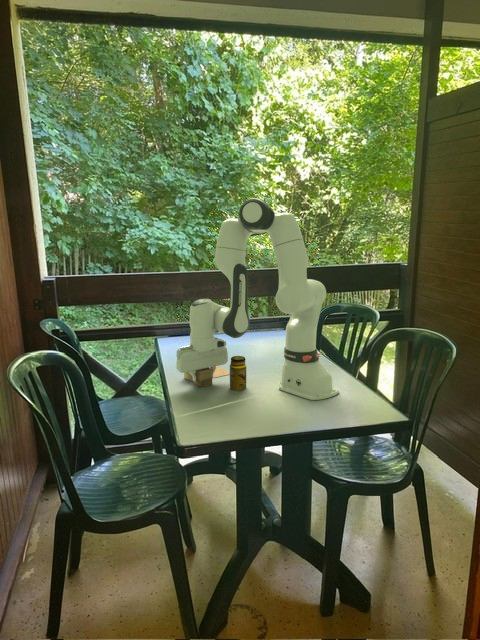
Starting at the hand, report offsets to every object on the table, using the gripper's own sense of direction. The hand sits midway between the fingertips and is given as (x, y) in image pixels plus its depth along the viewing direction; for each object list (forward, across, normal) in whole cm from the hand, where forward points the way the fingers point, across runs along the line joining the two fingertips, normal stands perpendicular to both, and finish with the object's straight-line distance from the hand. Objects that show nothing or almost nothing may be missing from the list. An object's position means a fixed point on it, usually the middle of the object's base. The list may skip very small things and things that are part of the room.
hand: (203, 379), depth 162 cm
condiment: (+3, +8, -10) cm, 13 cm away
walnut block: (+2, 0, 0) cm, 2 cm away
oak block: (+2, 0, +8) cm, 8 cm away
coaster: (+2, +10, +9) cm, 14 cm away
